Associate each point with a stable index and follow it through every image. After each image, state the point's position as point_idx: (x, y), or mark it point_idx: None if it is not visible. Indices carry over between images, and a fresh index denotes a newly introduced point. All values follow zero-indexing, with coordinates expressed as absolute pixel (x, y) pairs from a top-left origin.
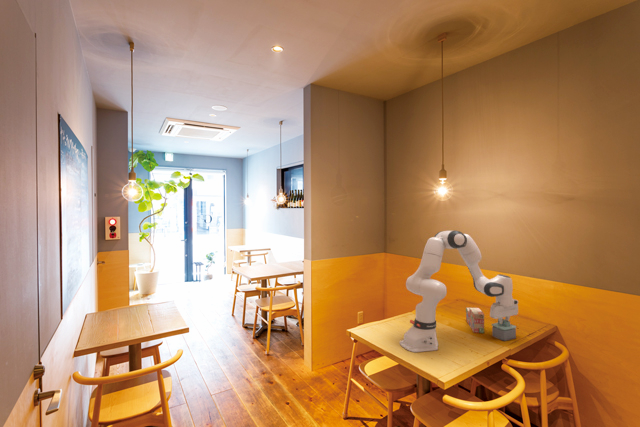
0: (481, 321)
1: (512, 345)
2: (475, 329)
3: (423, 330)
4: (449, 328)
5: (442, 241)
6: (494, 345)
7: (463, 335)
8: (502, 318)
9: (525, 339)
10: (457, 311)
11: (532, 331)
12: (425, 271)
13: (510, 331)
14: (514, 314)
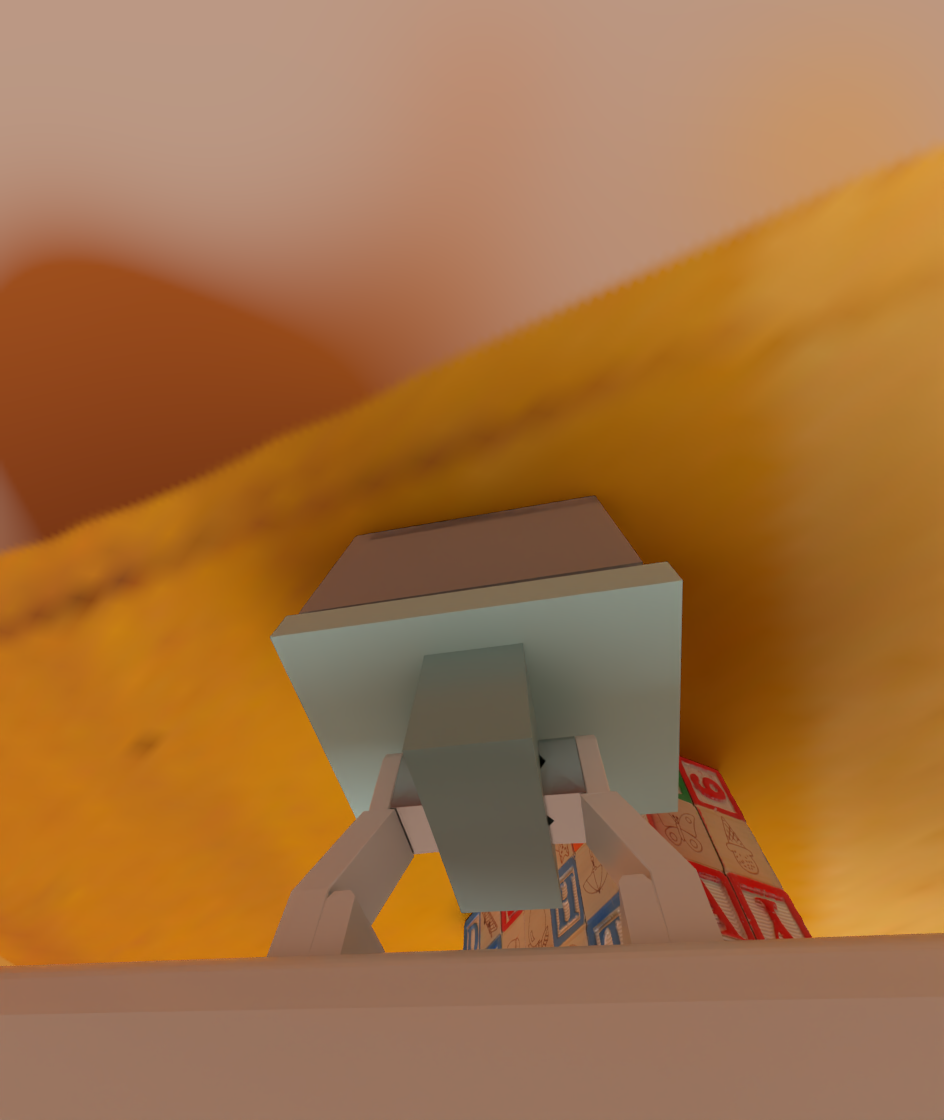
0: (714, 901)
1: (602, 330)
2: (720, 796)
3: None
4: (870, 873)
5: None
6: (883, 399)
7: (925, 736)
8: (628, 895)
9: (238, 477)
10: None
11: (9, 650)
12: None
13: (451, 574)
14: (51, 999)
